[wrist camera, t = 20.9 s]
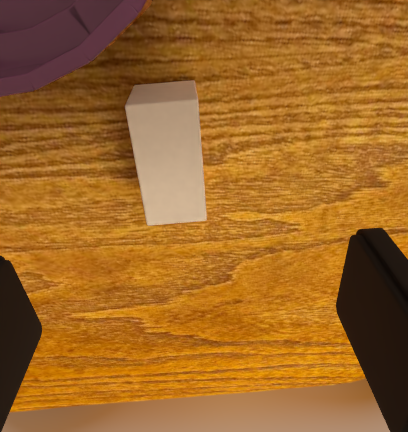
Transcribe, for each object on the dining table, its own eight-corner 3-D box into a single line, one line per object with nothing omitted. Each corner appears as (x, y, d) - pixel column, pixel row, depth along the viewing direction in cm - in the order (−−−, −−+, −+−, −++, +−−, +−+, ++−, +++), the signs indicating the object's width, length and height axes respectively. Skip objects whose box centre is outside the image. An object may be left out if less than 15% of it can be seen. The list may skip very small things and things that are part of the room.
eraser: (133, 84, 17) (124, 105, 14) (195, 79, 17) (198, 99, 14) (151, 191, 20) (146, 226, 17) (202, 187, 20) (207, 221, 17)
